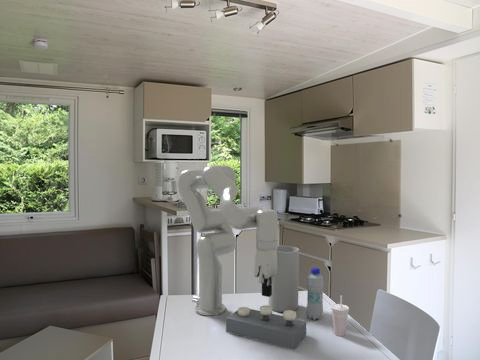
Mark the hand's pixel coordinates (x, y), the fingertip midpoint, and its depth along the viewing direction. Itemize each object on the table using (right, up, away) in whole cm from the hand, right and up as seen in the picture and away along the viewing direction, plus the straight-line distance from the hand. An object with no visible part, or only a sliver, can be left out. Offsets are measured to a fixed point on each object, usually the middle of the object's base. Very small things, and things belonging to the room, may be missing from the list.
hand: (266, 295), depth 132 cm
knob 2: (+8, -11, -4) cm, 14 cm away
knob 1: (-8, -13, +5) cm, 16 cm away
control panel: (0, -14, +1) cm, 14 cm away
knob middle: (0, -11, +1) cm, 11 cm away
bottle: (+20, -14, +15) cm, 28 cm away
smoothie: (+26, -14, +1) cm, 30 cm away
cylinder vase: (+9, -13, +25) cm, 30 cm away
